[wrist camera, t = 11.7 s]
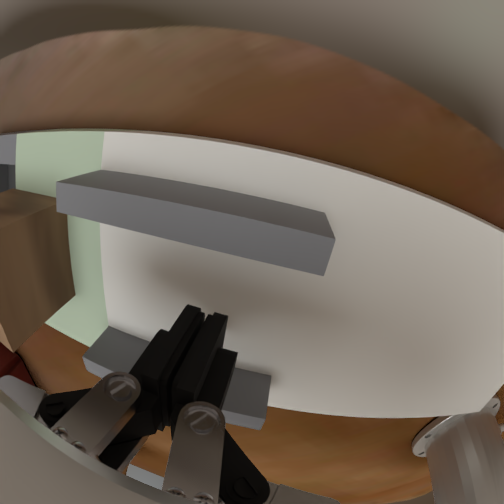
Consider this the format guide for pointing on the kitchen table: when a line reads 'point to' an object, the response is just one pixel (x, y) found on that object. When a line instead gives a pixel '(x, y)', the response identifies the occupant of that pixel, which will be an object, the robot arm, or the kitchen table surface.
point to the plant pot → (13, 365)
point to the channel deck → (273, 270)
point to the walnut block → (31, 264)
